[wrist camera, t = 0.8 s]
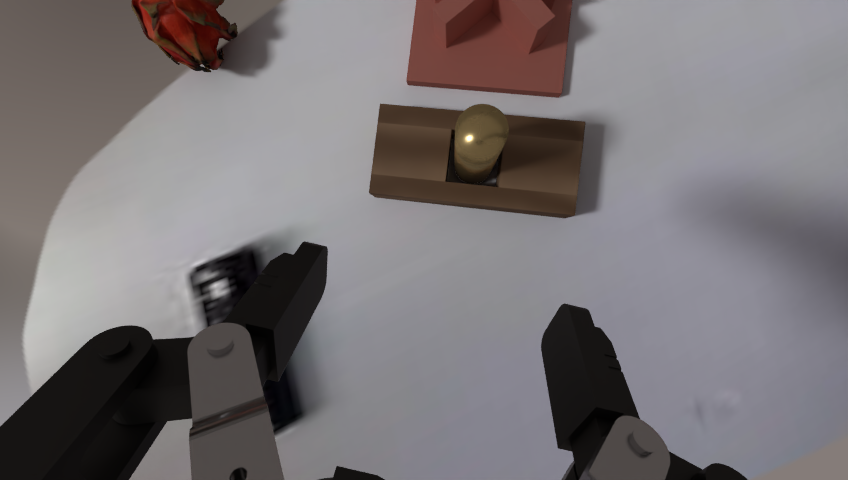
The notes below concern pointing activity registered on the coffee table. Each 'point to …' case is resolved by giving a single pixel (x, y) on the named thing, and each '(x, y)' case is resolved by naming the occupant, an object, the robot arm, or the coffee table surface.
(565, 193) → the brown flat block
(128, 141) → the coffee table surface
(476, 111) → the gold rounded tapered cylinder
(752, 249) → the coffee table surface
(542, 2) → the V-block
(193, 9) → the dragon fruit
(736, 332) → the coffee table surface
